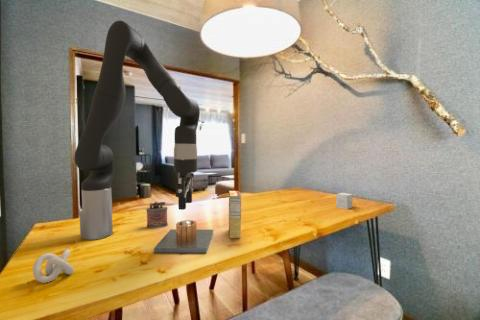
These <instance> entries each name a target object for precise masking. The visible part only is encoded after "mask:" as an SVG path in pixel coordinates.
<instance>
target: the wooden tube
mask: <svg viewBox="0 0 480 320" xmlns="http://www.w3.org/2000/svg"><path fill="white" fill-rule="evenodd" d="M183 221H191V225H188V226H182V222H183ZM197 225H198V222H197V221H196V220H191V219H190V220H189V219H186V220H180V221H178V222H176V223H175V229H176V239H177V241H180V242H189V241H193V240H195V239H196V238H197V230H198V228H197V227H198V226H197Z"/></svg>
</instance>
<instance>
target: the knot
mask: <svg viewBox="0 0 480 320" xmlns="http://www.w3.org/2000/svg"><path fill="white" fill-rule="evenodd" d="M70 254H71V250H70V249H69V248H67V249H66V248H65V249H64V250H63V252H62V254H61V256H60V257H59V256H58V255H56V254H54V253H52V252H51V253H50V252H49V253H43V254H41V255H40V256H39V257H37V259H35V261H34V263H33V266H32V274H33V277H34V279H35V280H36V281H37V282H38V283H43V284H45V283H46V284H47V282H48V283H51V282H53V281H54V280H55V279H56V278H57V277H58V276H59V275H60V273H61V272H62V273H63V274H65V275H72V274H73V273H74V270H75V269H74V267H73V265H72V264H70V263H69V262H68V261H67V259H68V258H69V255H70ZM45 261H46V263H45V269H44V270H45V271H44V272H45V274H46V275H44V273H43V272H42V264H43V262H45ZM50 281H51V282H50Z"/></svg>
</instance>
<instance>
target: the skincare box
mask: <svg viewBox="0 0 480 320" xmlns="http://www.w3.org/2000/svg"><path fill="white" fill-rule="evenodd" d="M353 198H354V197H353V193H346V192H339V193H336V199H335V201H336V206H335V207H336V208H339V209H344V210H350V209H352V208H353V201H354V200H353Z"/></svg>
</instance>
